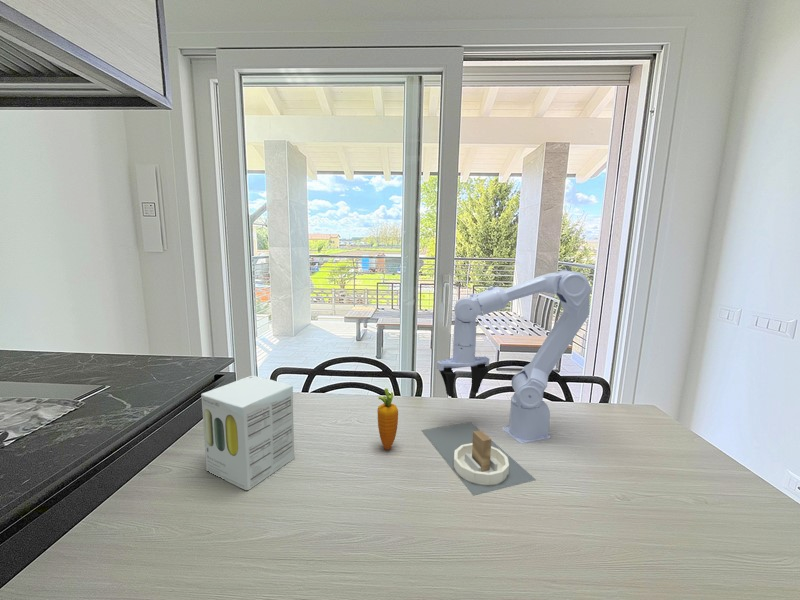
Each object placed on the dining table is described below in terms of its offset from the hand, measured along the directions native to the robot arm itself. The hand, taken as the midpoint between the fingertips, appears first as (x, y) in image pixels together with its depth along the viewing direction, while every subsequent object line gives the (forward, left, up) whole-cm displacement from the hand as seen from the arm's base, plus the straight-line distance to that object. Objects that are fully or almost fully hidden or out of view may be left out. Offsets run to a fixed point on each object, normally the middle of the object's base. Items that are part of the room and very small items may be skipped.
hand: (462, 393), depth 93 cm
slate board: (+4, +12, -10) cm, 16 cm away
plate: (+5, +18, -9) cm, 20 cm away
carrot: (+22, +4, -10) cm, 25 cm away
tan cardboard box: (+5, +18, -9) cm, 20 cm away
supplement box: (+52, 0, -10) cm, 53 cm away
